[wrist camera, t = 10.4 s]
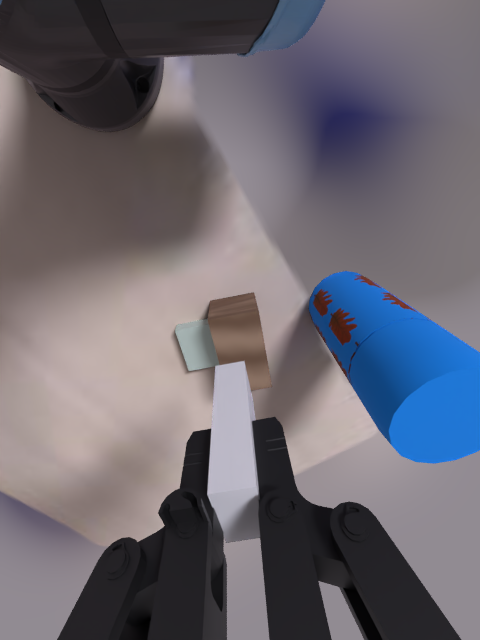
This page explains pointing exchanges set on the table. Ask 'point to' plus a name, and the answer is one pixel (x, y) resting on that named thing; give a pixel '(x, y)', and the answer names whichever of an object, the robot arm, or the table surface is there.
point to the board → (197, 344)
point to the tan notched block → (240, 336)
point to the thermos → (401, 368)
